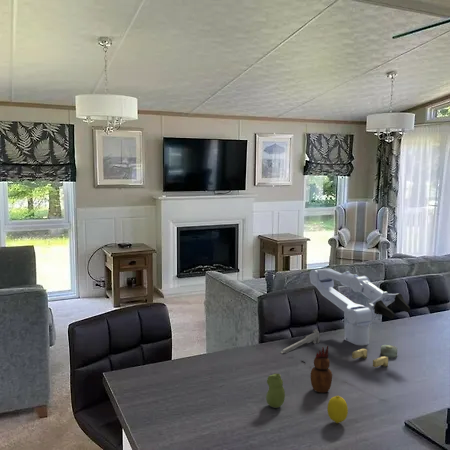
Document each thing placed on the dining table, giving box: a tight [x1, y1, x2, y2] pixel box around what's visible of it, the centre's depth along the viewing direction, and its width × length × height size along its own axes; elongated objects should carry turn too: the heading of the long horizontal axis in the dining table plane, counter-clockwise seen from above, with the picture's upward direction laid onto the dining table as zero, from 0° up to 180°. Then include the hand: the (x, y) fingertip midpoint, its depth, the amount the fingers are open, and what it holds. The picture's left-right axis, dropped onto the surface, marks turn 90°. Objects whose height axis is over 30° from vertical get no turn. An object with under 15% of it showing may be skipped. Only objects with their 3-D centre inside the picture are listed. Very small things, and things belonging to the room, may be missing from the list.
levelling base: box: [380, 344, 398, 359], centre depth 167 cm, size 14×20×5 cm
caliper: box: [280, 328, 321, 354], centre depth 180 cm, size 21×1×6 cm, turn 124°
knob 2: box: [372, 355, 389, 368], centre depth 159 cm, size 2×7×3 cm, turn 125°
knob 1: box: [351, 347, 368, 360], centre depth 166 cm, size 2×7×3 cm, turn 126°
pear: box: [265, 373, 286, 409], centre depth 134 cm, size 6×5×10 cm
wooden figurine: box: [310, 345, 333, 394], centre depth 143 cm, size 7×6×15 cm
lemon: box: [327, 395, 349, 424], centre depth 125 cm, size 6×6×8 cm
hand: (401, 313), depth 163 cm, fingers open, 7 cm apart
